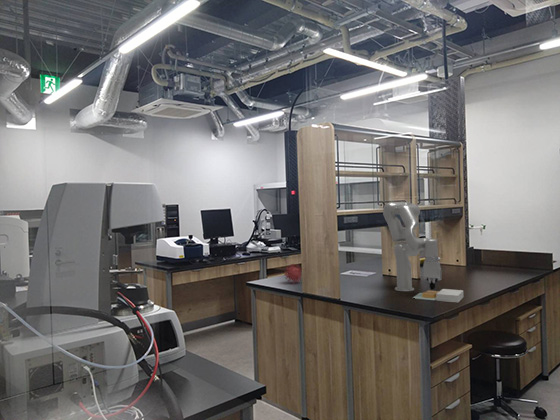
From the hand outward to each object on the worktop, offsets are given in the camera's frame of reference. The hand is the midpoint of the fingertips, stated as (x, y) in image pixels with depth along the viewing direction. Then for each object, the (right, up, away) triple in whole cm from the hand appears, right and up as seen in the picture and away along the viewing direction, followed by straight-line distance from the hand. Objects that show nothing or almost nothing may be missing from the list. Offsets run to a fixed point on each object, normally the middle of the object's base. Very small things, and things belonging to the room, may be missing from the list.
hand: (432, 289), depth 253 cm
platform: (+8, -5, -6) cm, 11 cm away
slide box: (-1, -3, +1) cm, 4 cm away
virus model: (-82, -8, +64) cm, 104 cm away
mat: (-3, -5, +2) cm, 6 cm away
